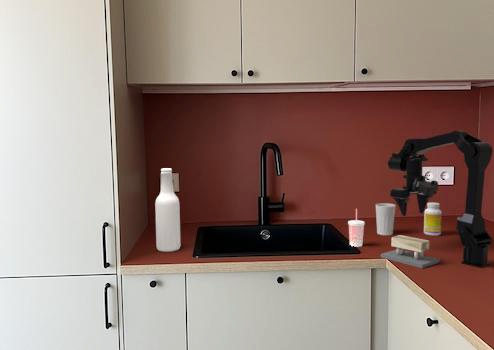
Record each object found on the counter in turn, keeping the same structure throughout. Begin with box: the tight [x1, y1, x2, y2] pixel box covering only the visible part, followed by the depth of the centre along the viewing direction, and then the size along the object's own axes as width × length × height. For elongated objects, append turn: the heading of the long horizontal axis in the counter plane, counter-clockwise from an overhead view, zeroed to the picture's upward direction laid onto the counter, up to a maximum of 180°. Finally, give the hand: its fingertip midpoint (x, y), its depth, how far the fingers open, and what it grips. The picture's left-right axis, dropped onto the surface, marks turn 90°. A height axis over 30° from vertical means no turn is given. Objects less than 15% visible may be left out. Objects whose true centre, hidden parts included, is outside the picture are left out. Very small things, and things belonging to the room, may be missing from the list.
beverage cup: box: [347, 208, 366, 248], centre depth 184 cm, size 6×6×14 cm
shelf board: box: [390, 234, 430, 253], centre depth 164 cm, size 5×11×3 cm, turn 41°
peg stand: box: [380, 247, 440, 269], centre depth 165 cm, size 16×10×4 cm, turn 37°
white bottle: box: [154, 167, 182, 253], centre depth 180 cm, size 9×9×30 cm
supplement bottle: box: [423, 202, 443, 237], centre depth 200 cm, size 7×7×13 cm
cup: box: [375, 202, 397, 236], centre depth 202 cm, size 8×8×12 cm
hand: (412, 214), depth 181 cm, fingers open, 9 cm apart
